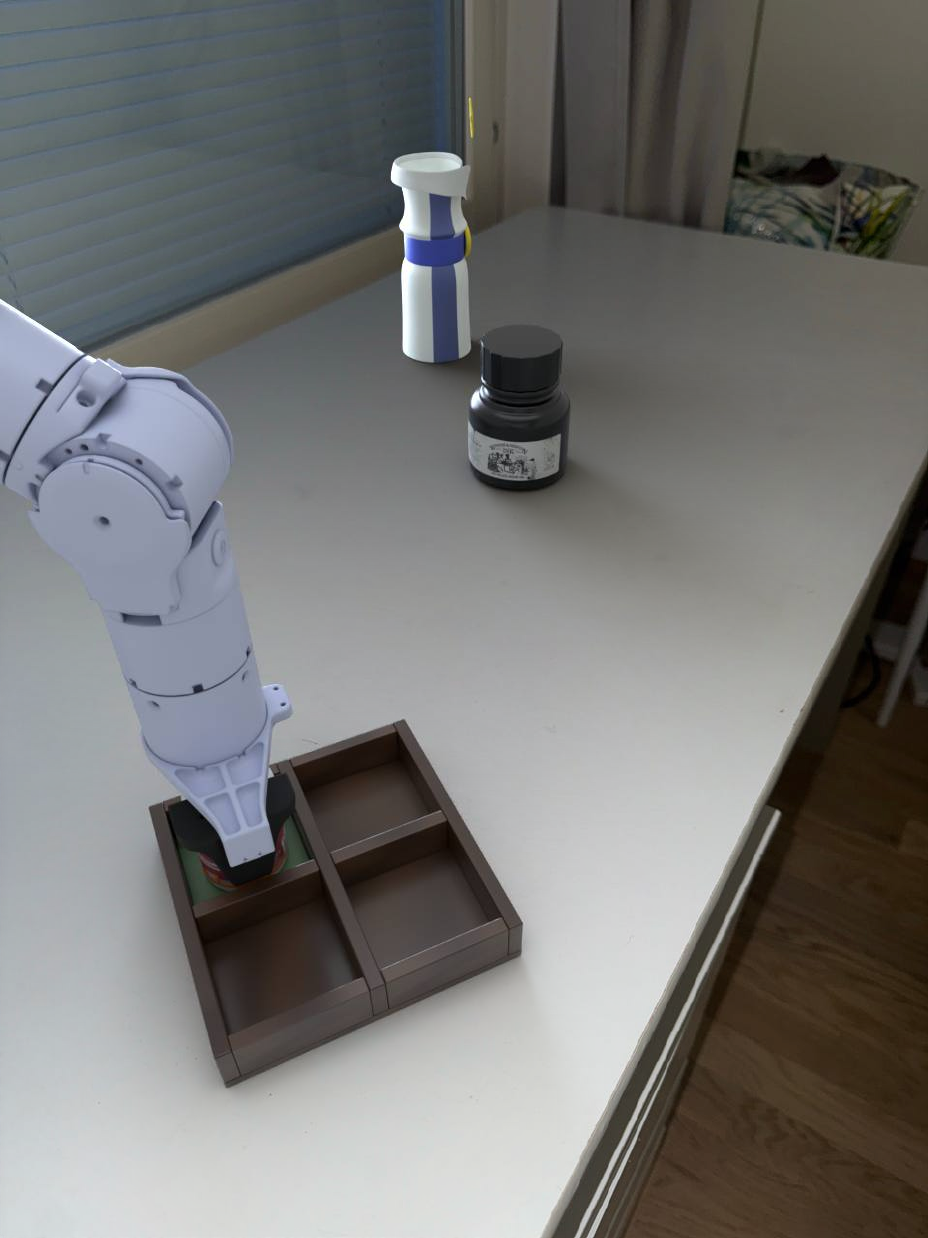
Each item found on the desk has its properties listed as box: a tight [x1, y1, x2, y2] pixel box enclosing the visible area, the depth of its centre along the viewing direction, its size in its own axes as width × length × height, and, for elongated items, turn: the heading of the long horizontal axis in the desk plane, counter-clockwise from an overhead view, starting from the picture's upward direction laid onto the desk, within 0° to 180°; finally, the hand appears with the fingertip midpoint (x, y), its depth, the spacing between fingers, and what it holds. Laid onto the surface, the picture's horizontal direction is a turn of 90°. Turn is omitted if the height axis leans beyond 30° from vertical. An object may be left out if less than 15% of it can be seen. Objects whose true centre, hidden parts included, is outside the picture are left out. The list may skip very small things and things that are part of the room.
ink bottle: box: [467, 323, 572, 490], centre depth 80 cm, size 10×9×12 cm
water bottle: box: [390, 97, 475, 364], centre depth 96 cm, size 8×9×25 cm
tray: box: [148, 718, 524, 1089], centre depth 49 cm, size 15×15×3 cm
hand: (239, 837), depth 50 cm, fingers closed on pill bottle, 5 cm apart
